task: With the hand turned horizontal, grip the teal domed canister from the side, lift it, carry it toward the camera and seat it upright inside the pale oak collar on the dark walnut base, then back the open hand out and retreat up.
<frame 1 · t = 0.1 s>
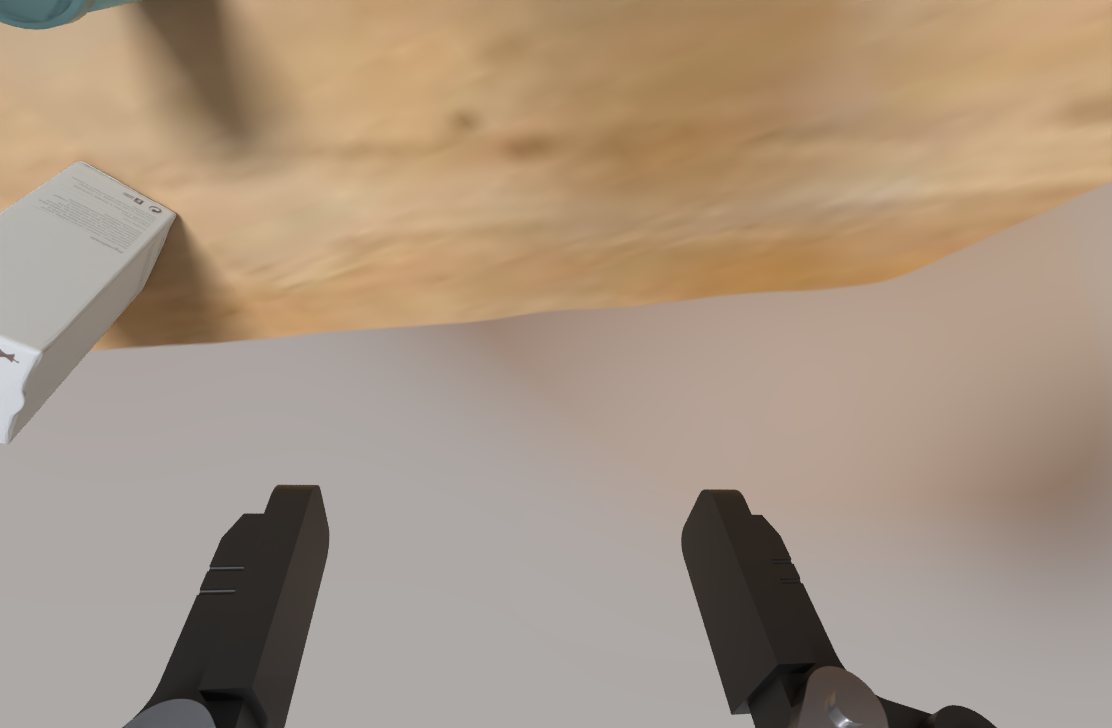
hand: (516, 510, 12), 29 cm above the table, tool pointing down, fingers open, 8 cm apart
skincare box: (116, 233, 36), on the table
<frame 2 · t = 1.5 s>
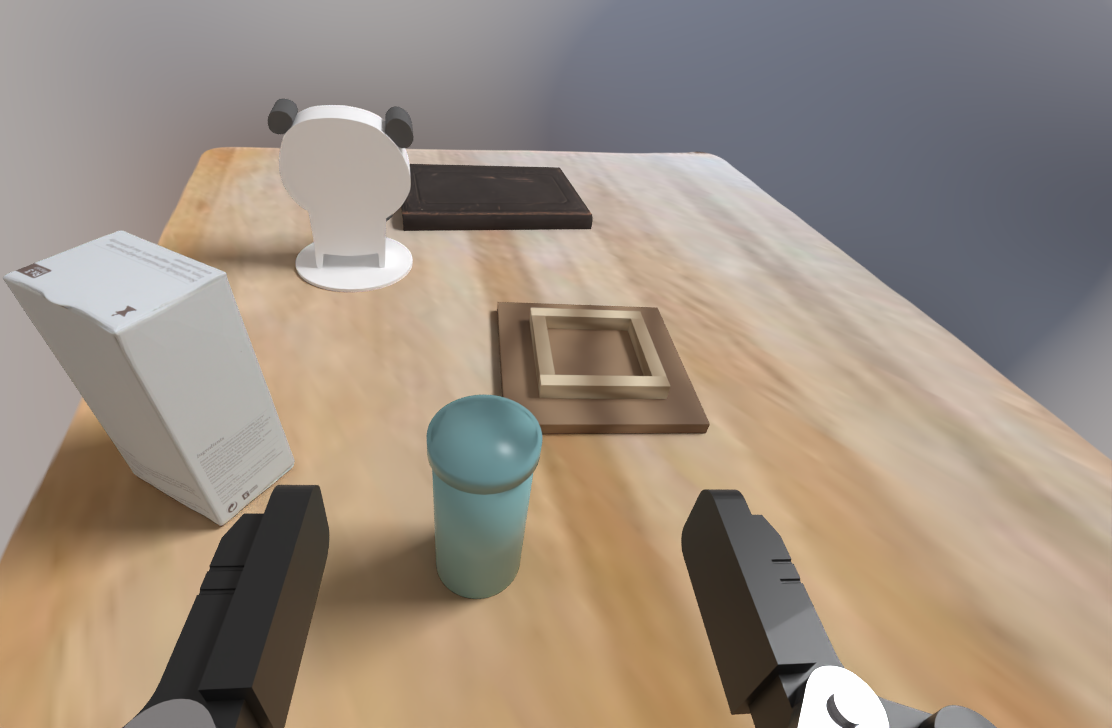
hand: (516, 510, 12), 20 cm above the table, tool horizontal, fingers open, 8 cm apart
teal domed canister: (478, 558, 32), on the table
skincare box: (213, 472, 35), on the table
hardcover book: (490, 207, 72), on the table
collar base: (591, 365, 48), on the table
panda figurine: (359, 263, 56), on the table
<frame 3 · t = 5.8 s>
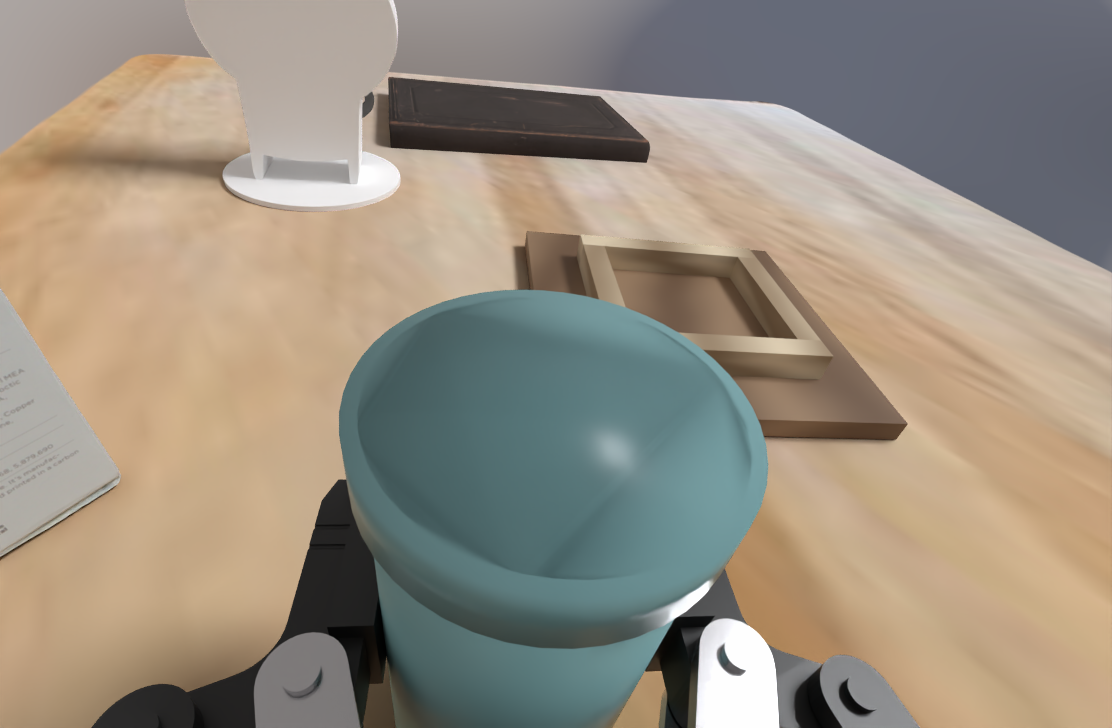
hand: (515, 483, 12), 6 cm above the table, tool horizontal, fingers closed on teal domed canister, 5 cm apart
teal domed canister: (498, 712, 14), on the table, touching gripper
hardcover book: (510, 135, 54), on the table
collar base: (679, 326, 29), on the table
panda figurine: (321, 180, 38), on the table
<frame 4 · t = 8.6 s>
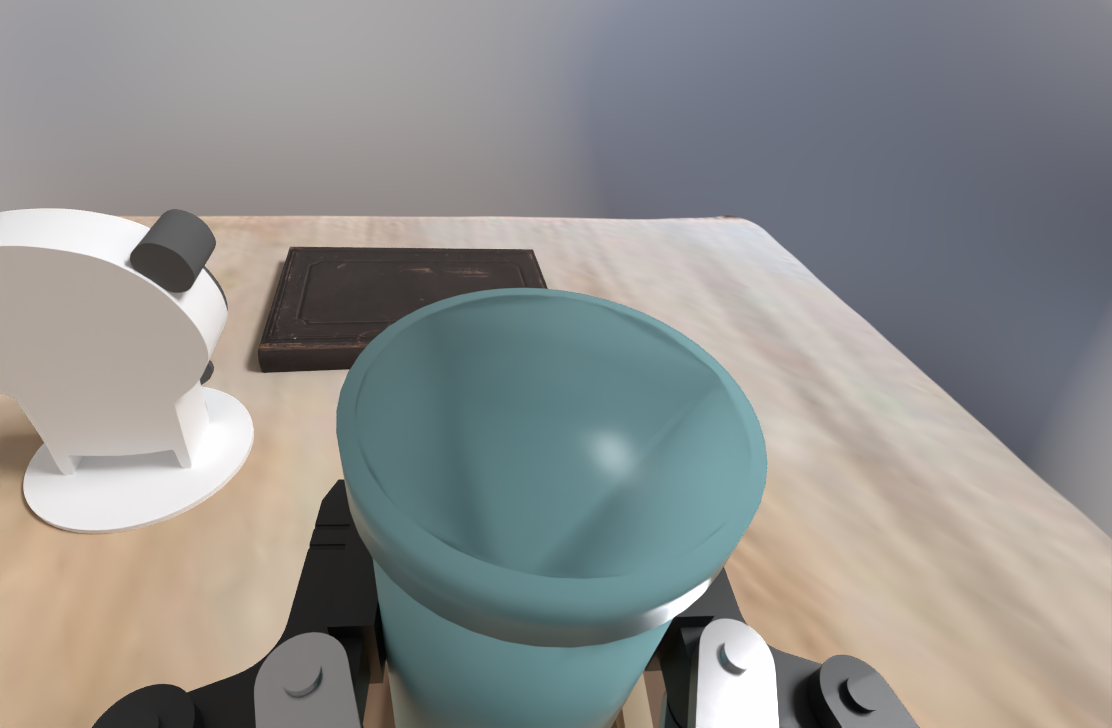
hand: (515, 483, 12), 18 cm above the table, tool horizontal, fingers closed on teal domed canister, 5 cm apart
teal domed canister: (498, 711, 14), point 12 cm above the table, touching gripper
hardcover book: (421, 315, 48), on the table
panda figurine: (156, 453, 33), on the table
when the fingers open (9 cm above the table, at t = 11.4 s): teal domed canister drops 2 cm, resting on collar base.
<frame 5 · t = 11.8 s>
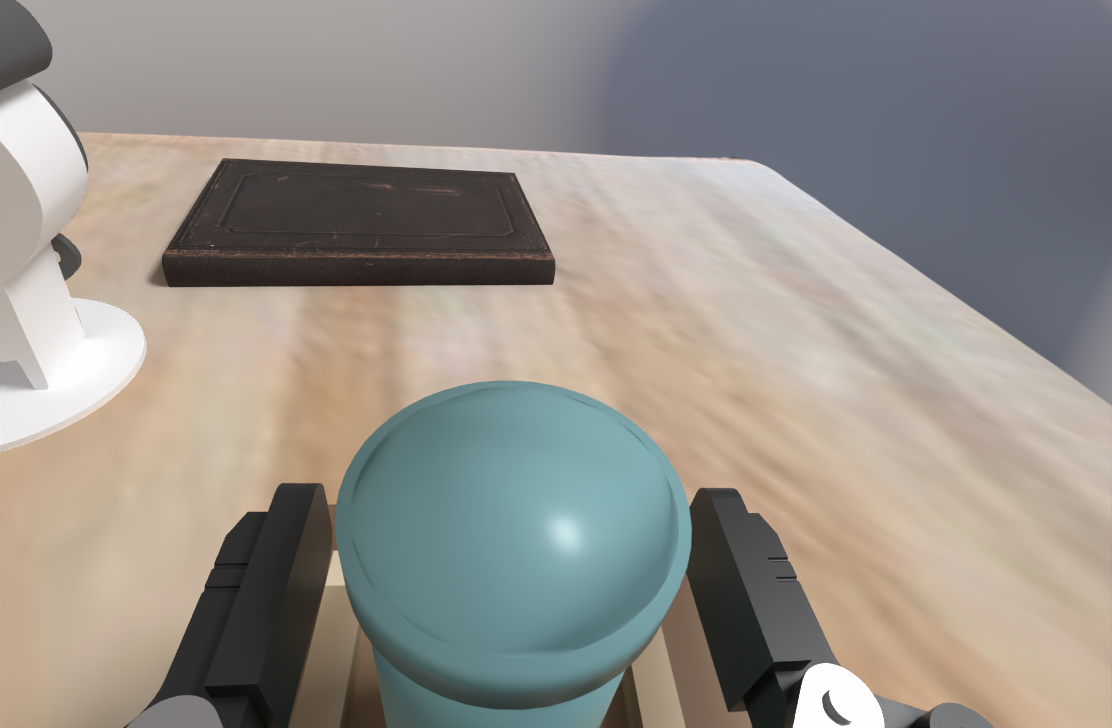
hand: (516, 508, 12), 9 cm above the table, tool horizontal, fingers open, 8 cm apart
hardcover book: (379, 238, 40), on the table
panda figurine: (6, 374, 25), on the table
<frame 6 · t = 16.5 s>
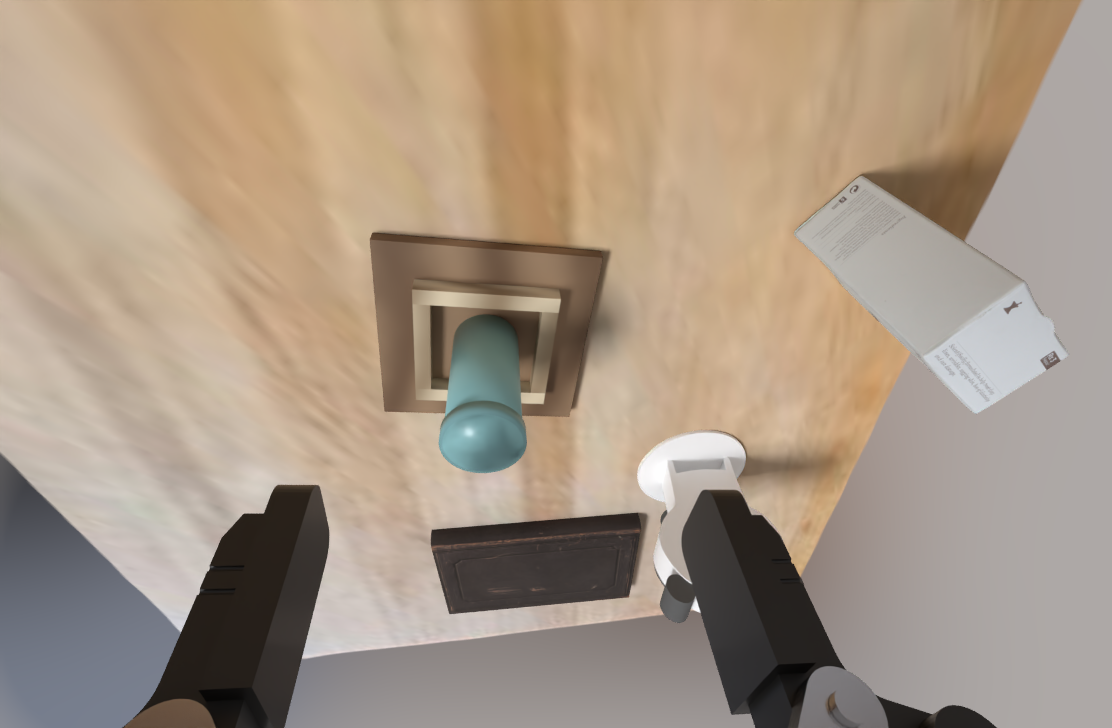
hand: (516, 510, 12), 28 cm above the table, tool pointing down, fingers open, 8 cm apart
teal domed canister: (486, 341, 42), point 1 cm above the table, touching collar base
skincare box: (853, 233, 41), on the table
hardcover book: (537, 554, 66), on the table
collar base: (484, 333, 43), on the table
panda figurine: (687, 466, 57), on the table
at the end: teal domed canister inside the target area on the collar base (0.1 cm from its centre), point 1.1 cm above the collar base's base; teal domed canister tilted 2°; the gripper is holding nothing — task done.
